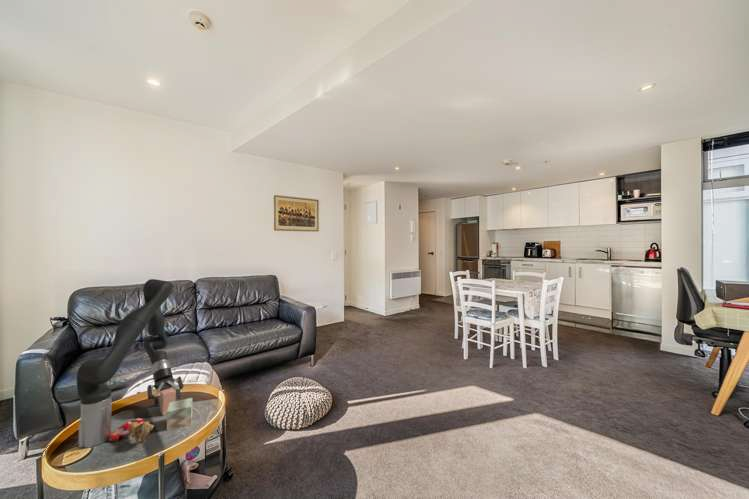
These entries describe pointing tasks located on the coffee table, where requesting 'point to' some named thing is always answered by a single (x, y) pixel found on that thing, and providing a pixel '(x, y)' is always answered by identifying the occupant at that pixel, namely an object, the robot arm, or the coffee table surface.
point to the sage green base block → (179, 413)
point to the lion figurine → (139, 431)
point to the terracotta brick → (166, 399)
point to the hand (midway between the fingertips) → (168, 401)
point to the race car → (123, 430)
